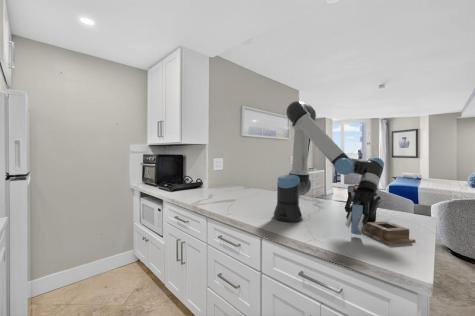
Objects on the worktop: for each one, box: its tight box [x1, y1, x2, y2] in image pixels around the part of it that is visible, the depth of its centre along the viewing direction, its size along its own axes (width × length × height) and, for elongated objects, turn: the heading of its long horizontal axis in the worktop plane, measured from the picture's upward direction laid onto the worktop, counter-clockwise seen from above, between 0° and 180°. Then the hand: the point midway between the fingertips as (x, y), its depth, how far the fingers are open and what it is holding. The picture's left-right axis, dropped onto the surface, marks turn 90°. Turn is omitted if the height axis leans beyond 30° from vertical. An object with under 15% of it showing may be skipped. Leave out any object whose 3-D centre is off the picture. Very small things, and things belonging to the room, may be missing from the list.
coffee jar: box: [353, 185, 378, 222], centre depth 119 cm, size 11×11×18 cm
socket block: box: [362, 220, 416, 245], centre depth 97 cm, size 14×14×5 cm
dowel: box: [350, 203, 363, 236], centre depth 95 cm, size 4×4×12 cm
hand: (353, 227), depth 93 cm, fingers closed on dowel, 4 cm apart
